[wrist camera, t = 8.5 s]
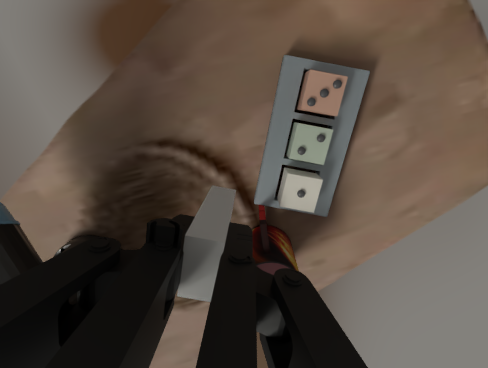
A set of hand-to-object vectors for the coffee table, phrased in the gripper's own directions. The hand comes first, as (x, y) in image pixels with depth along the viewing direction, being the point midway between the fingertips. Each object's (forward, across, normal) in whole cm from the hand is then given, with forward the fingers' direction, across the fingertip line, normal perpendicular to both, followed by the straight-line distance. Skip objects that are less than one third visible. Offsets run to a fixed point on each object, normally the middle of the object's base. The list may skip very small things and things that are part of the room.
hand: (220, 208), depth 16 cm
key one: (+27, +11, -5) cm, 29 cm away
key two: (+29, +11, +3) cm, 31 cm away
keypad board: (+29, +11, +3) cm, 31 cm away
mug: (+30, +7, -17) cm, 35 cm away
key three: (+28, +11, +10) cm, 32 cm away
